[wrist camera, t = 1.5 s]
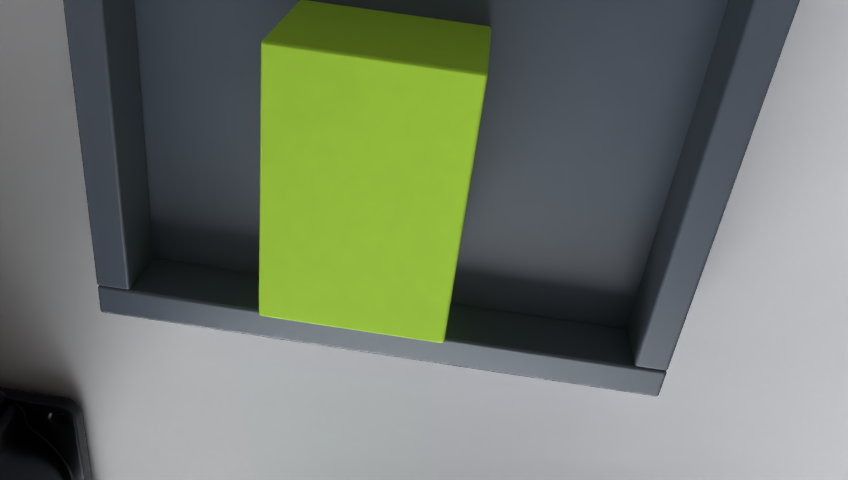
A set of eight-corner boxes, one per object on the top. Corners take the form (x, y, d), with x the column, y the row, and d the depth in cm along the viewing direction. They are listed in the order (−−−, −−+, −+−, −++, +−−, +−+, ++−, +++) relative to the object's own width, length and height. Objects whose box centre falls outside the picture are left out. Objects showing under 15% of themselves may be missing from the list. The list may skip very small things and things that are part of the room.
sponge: (452, 268, 19) (443, 345, 17) (291, 244, 19) (258, 316, 17) (491, 26, 16) (488, 73, 14) (299, -2, 16) (259, 40, 14)
